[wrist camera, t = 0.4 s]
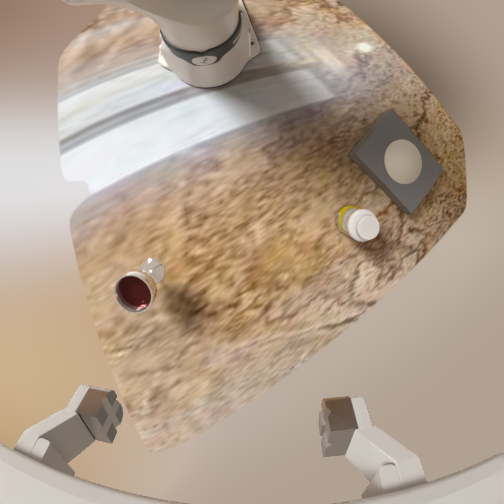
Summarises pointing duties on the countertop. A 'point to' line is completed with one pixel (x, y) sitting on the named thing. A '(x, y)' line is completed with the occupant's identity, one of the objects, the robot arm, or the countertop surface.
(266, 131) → the countertop surface
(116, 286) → the wineglass
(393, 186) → the block
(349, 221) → the supplement bottle
